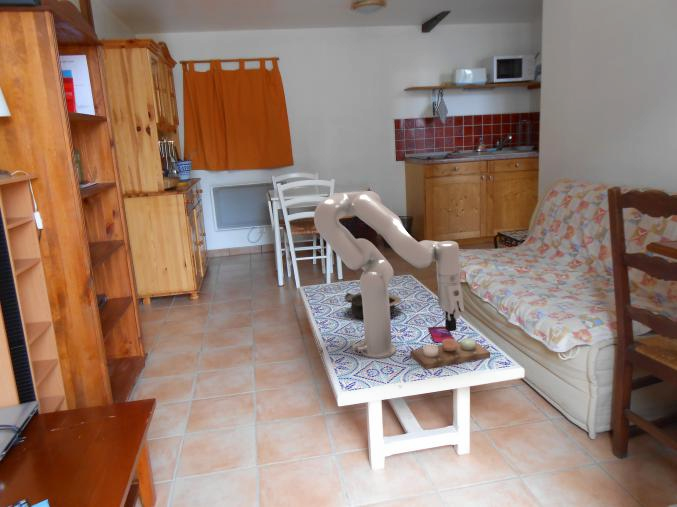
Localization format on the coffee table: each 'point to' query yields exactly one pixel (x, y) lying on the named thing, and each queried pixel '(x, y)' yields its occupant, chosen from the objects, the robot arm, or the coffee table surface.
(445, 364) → the button board
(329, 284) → the coffee table surface
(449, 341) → the terracotta button
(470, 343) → the sage button
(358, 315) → the stone bowl
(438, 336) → the smartphone
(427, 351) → the off-white button
